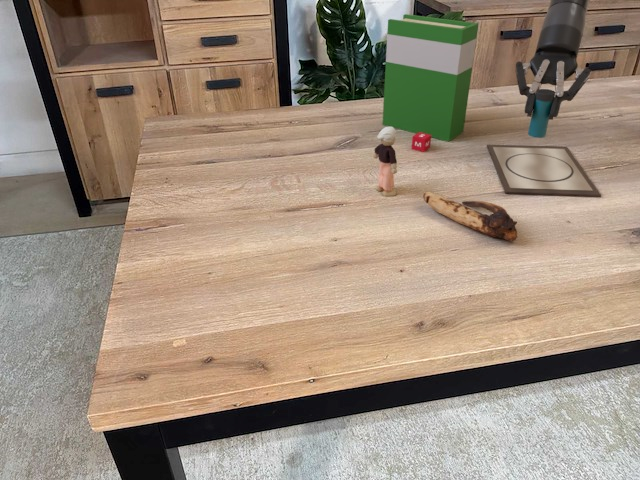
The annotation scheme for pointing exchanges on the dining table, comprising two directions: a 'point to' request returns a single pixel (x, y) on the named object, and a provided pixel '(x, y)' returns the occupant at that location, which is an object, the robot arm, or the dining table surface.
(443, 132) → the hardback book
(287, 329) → the dining table surface
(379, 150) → the grandmother figurine
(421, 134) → the dice
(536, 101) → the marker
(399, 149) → the dining table surface
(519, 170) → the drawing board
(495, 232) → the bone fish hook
